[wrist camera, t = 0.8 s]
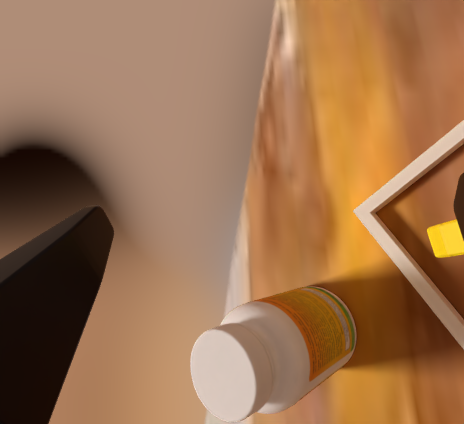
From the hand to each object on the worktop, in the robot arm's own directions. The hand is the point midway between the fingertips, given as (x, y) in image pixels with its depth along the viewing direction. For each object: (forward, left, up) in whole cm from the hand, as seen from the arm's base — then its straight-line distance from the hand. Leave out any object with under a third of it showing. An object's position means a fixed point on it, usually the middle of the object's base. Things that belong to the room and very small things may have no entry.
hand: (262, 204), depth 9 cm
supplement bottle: (-2, +9, -14) cm, 17 cm away
